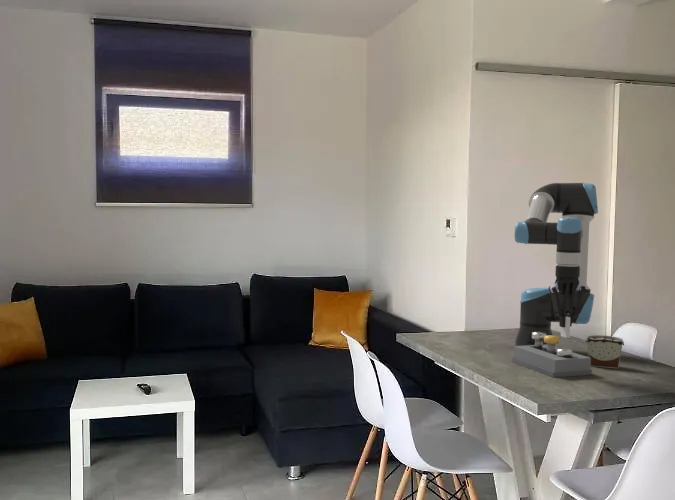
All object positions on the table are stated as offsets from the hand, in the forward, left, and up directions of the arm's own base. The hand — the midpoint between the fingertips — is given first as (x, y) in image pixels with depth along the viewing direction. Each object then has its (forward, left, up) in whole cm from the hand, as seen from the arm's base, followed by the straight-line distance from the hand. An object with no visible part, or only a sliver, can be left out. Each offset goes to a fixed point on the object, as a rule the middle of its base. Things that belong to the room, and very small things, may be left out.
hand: (565, 336), depth 224 cm
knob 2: (0, 0, -9) cm, 9 cm away
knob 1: (0, -14, -6) cm, 15 cm away
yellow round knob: (0, -7, -6) cm, 9 cm away
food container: (-21, -6, -12) cm, 25 cm away
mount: (0, -7, -12) cm, 14 cm away
